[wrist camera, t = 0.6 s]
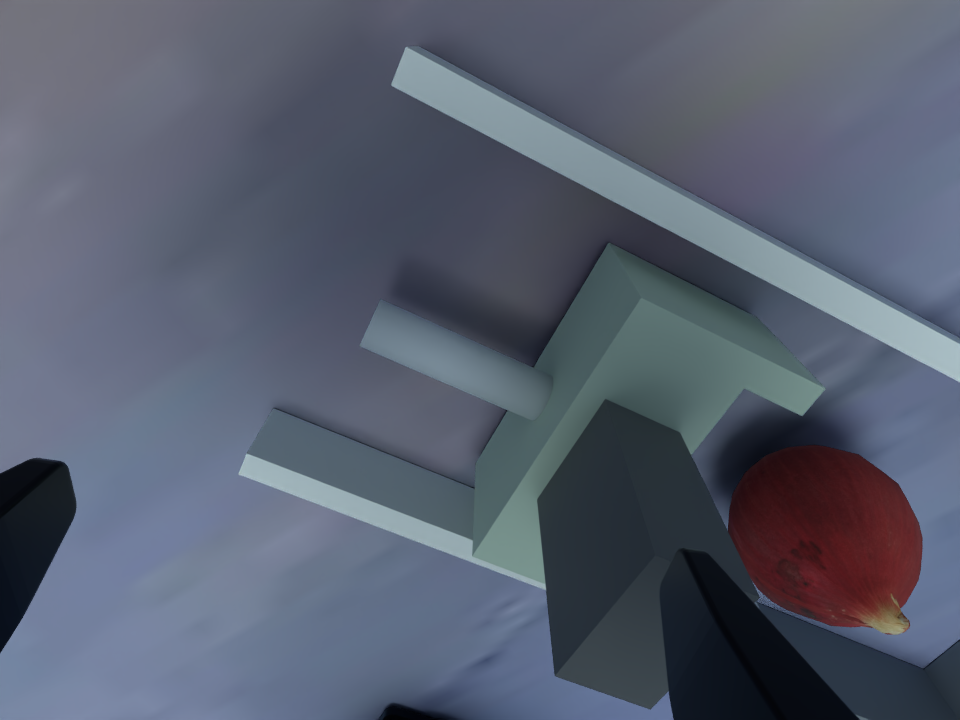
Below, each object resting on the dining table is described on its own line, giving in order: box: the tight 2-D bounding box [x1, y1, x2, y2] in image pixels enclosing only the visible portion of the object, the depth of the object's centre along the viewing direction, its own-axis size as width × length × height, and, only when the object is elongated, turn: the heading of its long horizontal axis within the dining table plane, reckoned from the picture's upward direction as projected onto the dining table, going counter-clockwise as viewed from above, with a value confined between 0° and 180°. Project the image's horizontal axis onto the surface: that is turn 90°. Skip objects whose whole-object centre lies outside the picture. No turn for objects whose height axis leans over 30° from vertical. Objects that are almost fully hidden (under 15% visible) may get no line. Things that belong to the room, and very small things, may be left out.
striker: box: [360, 243, 826, 709], centre depth 18 cm, size 10×12×11 cm
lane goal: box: [239, 46, 960, 720], centre depth 22 cm, size 15×34×7 cm, turn 64°
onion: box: [728, 445, 922, 635], centre depth 22 cm, size 6×6×8 cm
